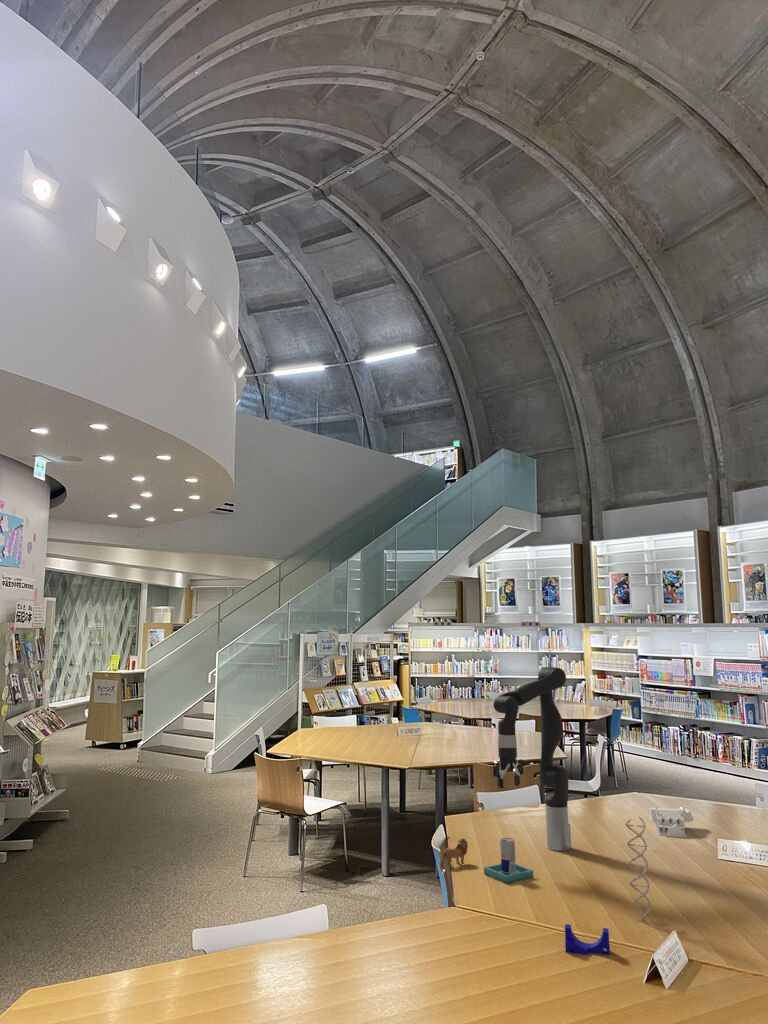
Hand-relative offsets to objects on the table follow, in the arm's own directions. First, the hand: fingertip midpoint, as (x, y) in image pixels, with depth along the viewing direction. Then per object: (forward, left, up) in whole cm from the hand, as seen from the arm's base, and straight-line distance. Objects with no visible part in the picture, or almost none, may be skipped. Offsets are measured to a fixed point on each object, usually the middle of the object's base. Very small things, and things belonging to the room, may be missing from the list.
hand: (509, 786), depth 289 cm
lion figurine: (+23, -8, -28) cm, 37 cm away
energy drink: (+14, +14, -28) cm, 34 cm away
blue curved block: (+39, +76, -28) cm, 90 cm away
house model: (-92, +7, -28) cm, 97 cm away
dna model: (+6, +68, -28) cm, 74 cm away
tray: (+14, +14, -28) cm, 34 cm away
